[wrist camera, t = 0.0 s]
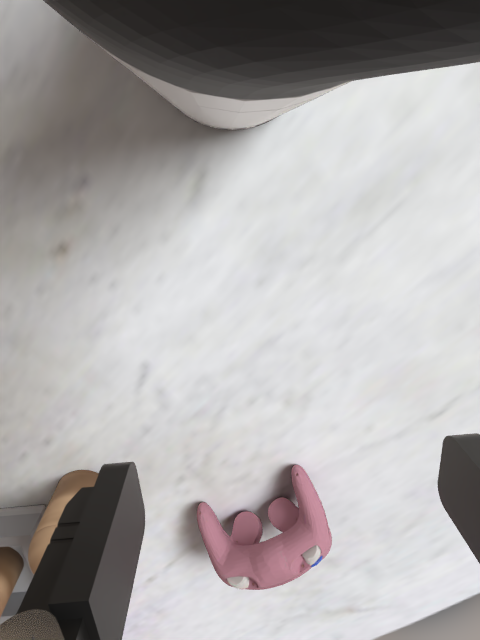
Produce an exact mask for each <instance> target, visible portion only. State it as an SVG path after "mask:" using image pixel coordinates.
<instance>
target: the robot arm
mask: <svg viewBox="0 0 480 640" xmlns="http://www.w3.org/2000/svg"><path fill="white" fill-rule="evenodd" d="M43 1H45V2H46V3H47V4H48V5H49V6H51V7H52V8H53V9H54V10H55V11H57V12H58V13H59V14H60V15H61V16H63V17H64V18H65V19H66V20H67V21H69V22H70V23H71V24H72V25H74V26H75V27H76V28H77V29H79V30H80V31H81V32H82V33H83V34H84V35H86V36H87V37H88V38H89V39H91V40H92V41H93V42H94V43H96V44H97V45H98V46H99V47H101V48H102V49H103V50H104V51H106V52H107V53H108V54H109V55H111V56H112V57H113V58H114V59H116V60H117V61H118V62H119V63H121V64H122V65H124V66H125V67H126V68H128V69H129V70H130V71H131V72H133V73H134V74H135V75H136V76H138V77H139V78H140V79H141V80H143V81H144V82H145V83H146V84H148V85H149V86H150V87H151V88H153V89H154V90H155V91H156V92H158V93H159V94H160V95H161V96H163V97H164V98H165V99H166V100H167V101H169V102H170V103H171V104H172V105H174V106H175V107H176V108H178V109H179V110H180V111H181V112H183V113H184V114H185V115H186V116H188V117H190V118H192V119H194V120H196V122H198V123H201V124H203V125H206V126H209V127H210V126H211V127H212V128H217V129H225V130H240V129H248V128H251V127H256V126H259V125H261V124H264V123H266V122H269V121H270V120H272V119H274V118H276V117H278V116H280V115H282V114H284V113H286V112H288V111H290V110H292V109H294V108H297V107H299V106H301V105H303V104H305V103H307V102H309V101H311V100H314V99H316V98H318V97H319V96H321V95H324V94H326V93H328V92H330V91H332V90H334V89H336V88H338V87H340V86H343V85H345V84H347V83H349V82H351V81H354V80H360V79H366V78H373V77H379V76H386V75H392V74H399V73H406V72H413V71H420V70H428V69H435V68H442V67H449V66H456V65H463V64H469V63H476V62H480V0H43ZM438 491H439V496H440V499H441V502H442V504H443V506H444V508H445V510H446V512H447V513H448V515H449V516H450V518H451V519H452V521H453V523H454V524H455V526H456V527H457V529H458V530H459V532H460V533H461V535H462V537H463V538H464V540H465V541H466V543H467V544H468V546H469V548H470V549H471V551H472V552H473V554H474V555H475V557H476V559H477V560H478V562H479V563H480V435H479V434H464V435H452V436H446V437H445V439H444V441H443V447H442V454H441V462H440V469H439V477H438ZM57 524H58V526H57V527H56V528H55V530H54V532H53V534H52V537H51V539H50V544H48V546H47V548H46V550H45V552H44V554H43V557H42V559H41V561H40V563H39V565H38V568H37V570H36V572H35V574H34V576H33V579H32V581H31V583H30V585H29V587H28V590H27V592H26V594H25V596H24V599H23V601H22V603H21V605H20V607H19V609H18V611H17V613H16V615H14V616H12V617H11V618H9V619H7V620H6V621H4V622H3V623H2V624H0V640H122V635H123V631H124V626H125V621H126V616H127V612H128V607H129V602H130V597H131V592H132V588H133V583H134V578H135V573H136V569H137V564H138V559H139V554H140V550H141V545H142V540H143V535H144V529H145V509H144V503H143V498H142V494H141V489H140V484H139V479H138V474H137V469H136V466H135V463H134V462H125V463H113V464H104V465H103V466H102V467H101V470H100V472H99V475H98V477H97V480H96V482H95V485H94V487H83V488H81V489H80V490H79V491H78V492H77V493H76V494H75V495H74V497H73V498H72V499H71V500H70V501H69V502H68V503H67V504H66V506H65V508H64V510H63V512H62V515H61V517H60V519H59V521H58V523H57Z"/></svg>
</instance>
